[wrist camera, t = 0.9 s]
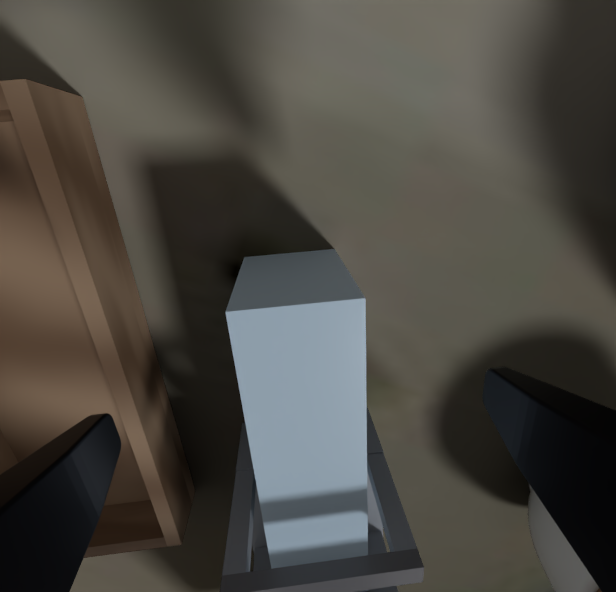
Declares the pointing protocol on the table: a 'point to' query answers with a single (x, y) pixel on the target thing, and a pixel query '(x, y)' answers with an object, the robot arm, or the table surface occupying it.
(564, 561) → the lidded jar
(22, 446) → the tray
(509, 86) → the table surface
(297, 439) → the pale blue rectangular pillar
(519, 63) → the table surface
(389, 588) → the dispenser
